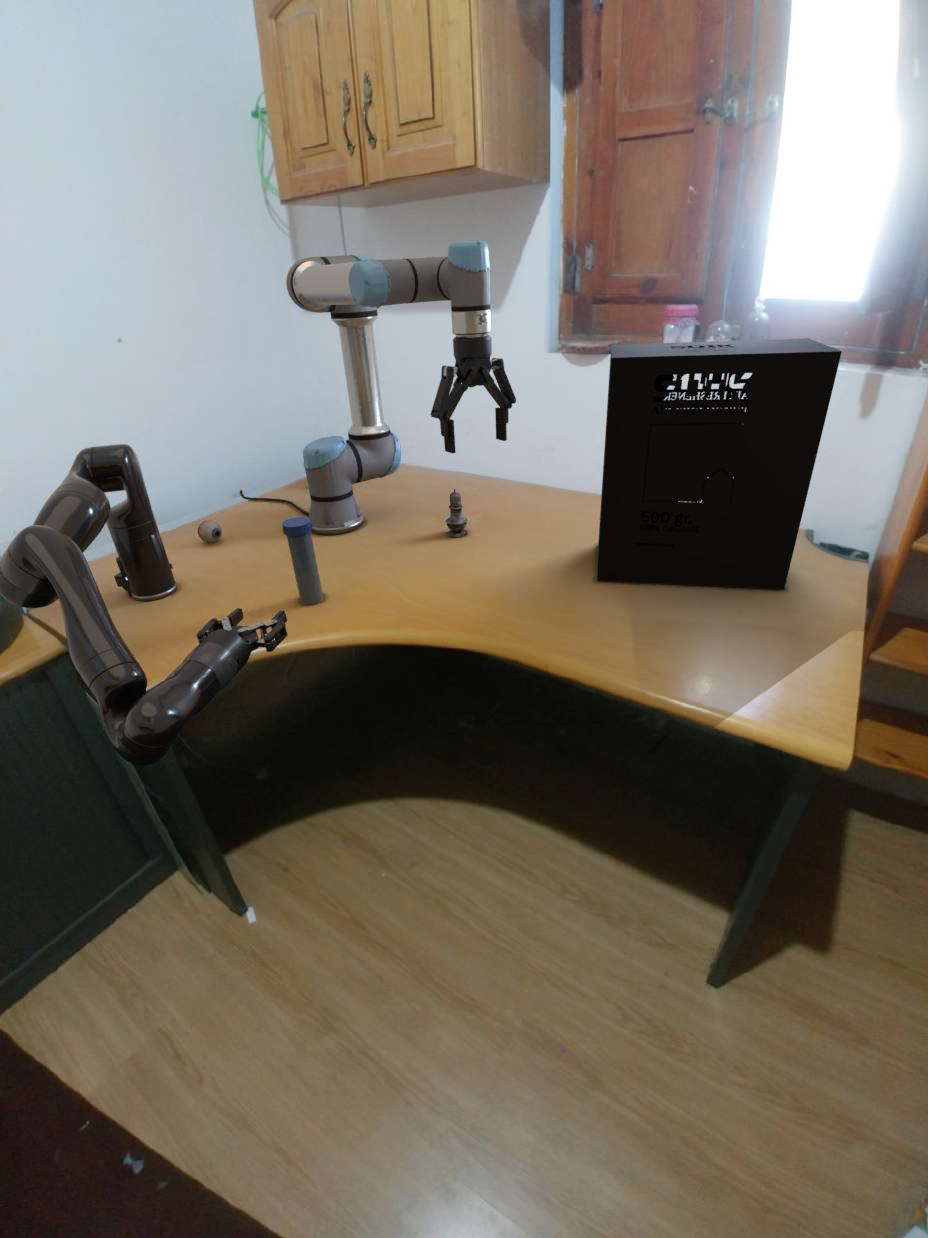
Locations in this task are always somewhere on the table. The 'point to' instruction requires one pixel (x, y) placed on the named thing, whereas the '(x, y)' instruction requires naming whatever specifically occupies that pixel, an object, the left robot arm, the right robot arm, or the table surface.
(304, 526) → the lid
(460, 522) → the salt shaker
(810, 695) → the table surface
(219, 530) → the eyeball
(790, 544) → the cardboard box
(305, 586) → the jar
